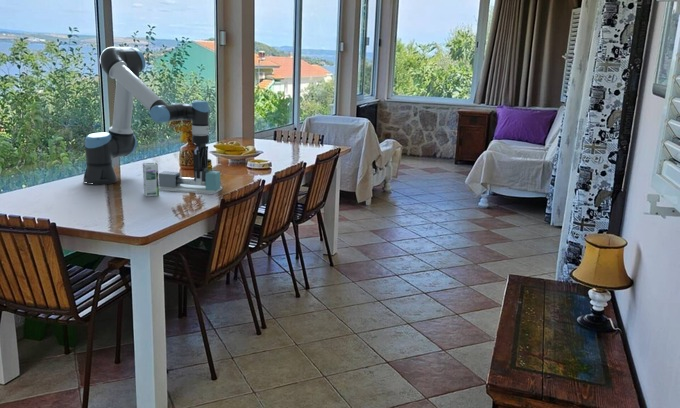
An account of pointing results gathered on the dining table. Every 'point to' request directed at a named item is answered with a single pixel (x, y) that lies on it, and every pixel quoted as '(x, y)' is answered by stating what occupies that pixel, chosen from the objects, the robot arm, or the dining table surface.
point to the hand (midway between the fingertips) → (201, 183)
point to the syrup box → (151, 179)
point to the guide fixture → (169, 184)
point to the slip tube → (193, 180)
